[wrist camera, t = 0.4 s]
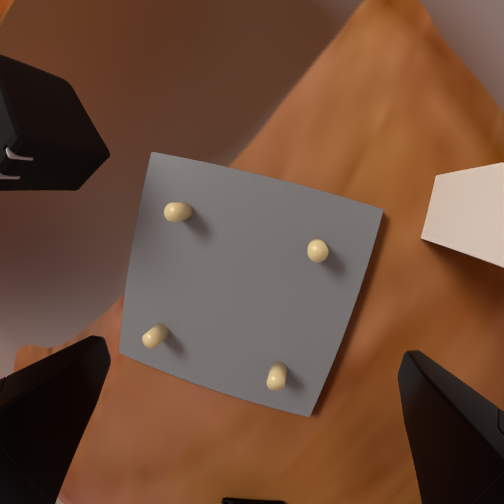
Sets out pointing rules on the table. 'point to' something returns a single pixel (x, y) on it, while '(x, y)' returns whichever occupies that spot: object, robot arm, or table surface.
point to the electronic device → (44, 132)
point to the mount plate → (243, 280)
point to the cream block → (469, 213)
